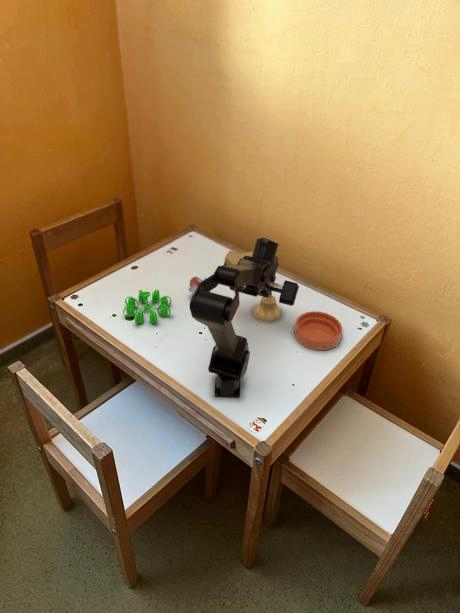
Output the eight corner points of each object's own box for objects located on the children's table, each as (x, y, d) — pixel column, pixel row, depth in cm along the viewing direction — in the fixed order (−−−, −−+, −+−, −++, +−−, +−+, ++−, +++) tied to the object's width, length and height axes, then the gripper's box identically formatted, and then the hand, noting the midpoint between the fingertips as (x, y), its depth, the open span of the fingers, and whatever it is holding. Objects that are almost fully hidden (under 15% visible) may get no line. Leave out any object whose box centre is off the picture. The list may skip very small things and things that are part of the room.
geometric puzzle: (219, 290, 149) (206, 269, 147) (207, 301, 144) (194, 279, 142) (204, 295, 154) (191, 274, 151) (192, 306, 149) (179, 285, 147)
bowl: (343, 352, 132) (345, 342, 129) (296, 350, 132) (298, 340, 129) (336, 321, 142) (338, 312, 140) (292, 319, 142) (294, 310, 140)
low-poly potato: (272, 280, 158) (266, 251, 162) (268, 266, 148) (262, 235, 152) (229, 290, 160) (224, 261, 164) (222, 277, 150) (217, 246, 154)
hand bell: (257, 322, 140) (261, 279, 130) (250, 305, 147) (254, 262, 137) (284, 319, 142) (290, 276, 132) (276, 302, 148) (281, 260, 138)
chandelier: (159, 333, 135) (158, 314, 131) (113, 321, 139) (110, 302, 135) (180, 303, 147) (180, 285, 142) (137, 292, 150) (135, 274, 146)
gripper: (301, 260, 121) (306, 273, 136) (234, 244, 126) (246, 259, 141) (290, 301, 120) (296, 310, 135) (222, 284, 125) (235, 294, 140)
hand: (268, 292), depth 138 cm, fingers open, 9 cm apart
